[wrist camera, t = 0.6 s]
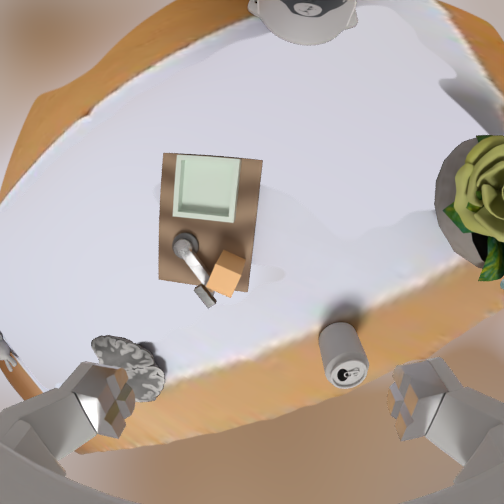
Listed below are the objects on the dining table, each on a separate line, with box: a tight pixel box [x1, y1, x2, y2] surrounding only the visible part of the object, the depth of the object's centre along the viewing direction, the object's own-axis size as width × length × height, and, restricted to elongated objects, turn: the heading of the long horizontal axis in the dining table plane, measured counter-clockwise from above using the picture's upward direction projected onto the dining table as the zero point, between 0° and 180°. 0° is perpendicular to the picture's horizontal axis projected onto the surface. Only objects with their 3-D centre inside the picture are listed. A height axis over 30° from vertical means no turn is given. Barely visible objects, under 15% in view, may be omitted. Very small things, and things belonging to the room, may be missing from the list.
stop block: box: [206, 250, 246, 298], centre depth 46 cm, size 4×4×7 cm
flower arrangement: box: [434, 135, 504, 289], centre depth 32 cm, size 25×25×24 cm
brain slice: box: [91, 335, 165, 402], centre depth 58 cm, size 20×17×3 cm
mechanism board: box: [159, 153, 263, 292], centre depth 48 cm, size 22×16×2 cm
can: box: [319, 322, 369, 389], centre depth 48 cm, size 8×8×12 cm
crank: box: [174, 238, 216, 308], centre depth 46 cm, size 11×3×6 cm, turn 35°
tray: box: [173, 155, 242, 223], centre depth 44 cm, size 10×10×2 cm
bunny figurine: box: [0, 334, 17, 371], centre depth 63 cm, size 10×5×15 cm
